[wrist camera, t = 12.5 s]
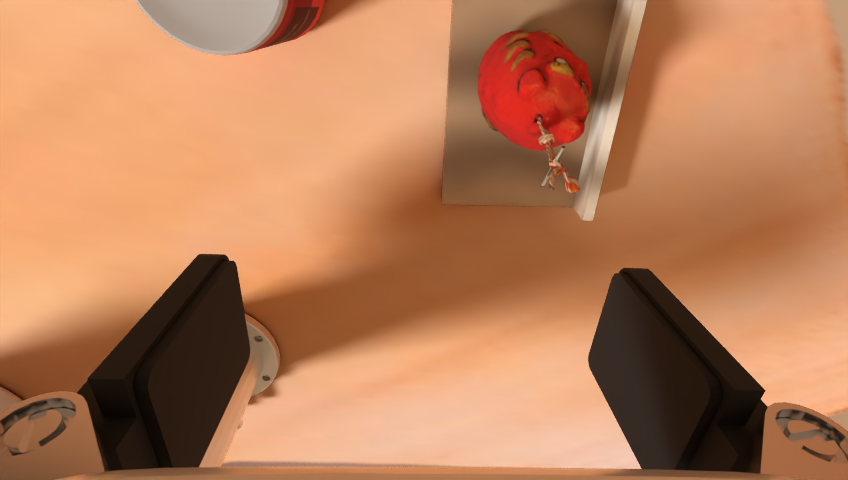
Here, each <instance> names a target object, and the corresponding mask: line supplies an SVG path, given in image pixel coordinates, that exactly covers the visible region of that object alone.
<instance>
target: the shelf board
mask: <svg viewBox="0 0 848 480" xmlns="http://www.w3.org/2000/svg"><path fill="white" fill-rule="evenodd" d="M646 3H647V0H452V14H451V32H450V50H449V68H448V86H447V104H446V122H445V139H444V157H443V175H442V193H441V201H442V204H455V205H496V206H538V207H573V209H574V210H575V211H576V212H577V214H578V215H579V216H580V218H581V219H582V220H583V221H593V218H594V214H595V210H596V206H597V202H598V198H599V194H600V190H601V186H602V181H603V177H604V173H605V169H606V165H607V161H608V157H609V153H610V149H611V145H612V141H613V137H614V133H615V129H616V125H617V121H618V117H619V112H620V108H621V104H622V100H623V96H624V92H625V88H626V84H627V80H628V76H629V72H630V68H631V64H632V60H633V56H634V52H635V48H636V43H637V39H638V35H639V31H640V27H641V23H642V19H643V15H644V11H645V7H646ZM517 30H522V31H524V32H535V31H539V30H548V31H549V32H550V33H551V34H555V35H557V36H559V37H560V38H561V39H562V40H563V41H564V42H565V43H566V44H567V45H568V47H569V49H570V50H571V51H572V52H573V53H574V54H575V55H576V56H577V57H578V58H579V59H581V60H582V61H584V62H585V63H586V64H587V67H588V74H589V77H590V81H591V85H592V90H591V95H590V105H591V107H590V112H589V113H588V115H587V118H586V121H585V123H584V124H585V129H584V133H583V134H582V135H581V136H580V137H579V138H578V139H576V140H575V141H573V142H571V143H568V144H566V143H565V144H563V145H560V146H558V147H555V148H552V149H553V151H554V153H555V155H556V156H557V155H558V153H559V152H560V150H561V147H562V146H565V149H564V150H563V152H562V154H561V156H560V158H559V160H560V161H561V162H562V164H563V167H564V168H565V169H566V171H567V173H568V175H569V176H572V177H574V178H575V179H576V180H577V181H578V182H579V184H578V185H579V187H580V190H579V191H578V192H574V193H571V194H570V193H569V192H567V191H566V187H565V178H564V176H563V173H561V175H556V176H555V180H554V181H555V189H554V190H550V188H549V179H548V181H547V182H546V184H545V187H541V184H542V182H543V181H544V179H545V177H546V175H547V173H548V172H549V170H550V165H549V157H548V153H547V150H543V151H536V150H530V149H527V148H524V147H522V146H519V145H516V144H514V143H513V142H511V141H510V140H509V139H508V138H506V137H505V136H503V135H502V134H501V133H500V132H498V131H494V130H493V129H491V128H490V127H489V125H488V123H487V122H486V120H485V118H484V116H483V115H482V109H481V108H482V106H481V103H480V100H479V96H478V74H479V67H480V64H481V61H482V58H483V56H484V54H485V52H486V51H487V50H488V48H489V47H490V46H491V44H492V43H493V42H494V41H495V40H496V39H498V38H499V37H500V36H501V35H503V34H505V33H508V32H511V31H517Z"/></svg>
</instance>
